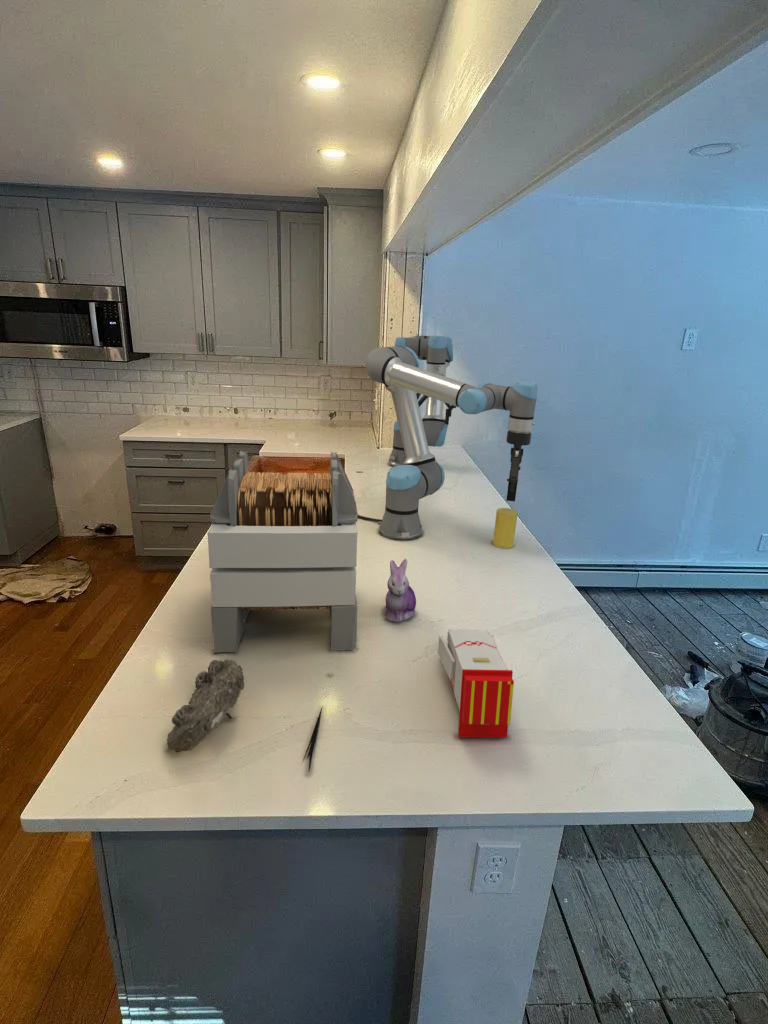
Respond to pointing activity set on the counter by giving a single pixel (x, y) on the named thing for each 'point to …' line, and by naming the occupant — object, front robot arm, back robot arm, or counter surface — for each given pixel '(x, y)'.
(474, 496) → the counter surface
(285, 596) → the grey record crate
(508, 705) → the toy
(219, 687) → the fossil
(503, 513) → the tin
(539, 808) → the counter surface
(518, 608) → the counter surface
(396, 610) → the figurine
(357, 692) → the counter surface
